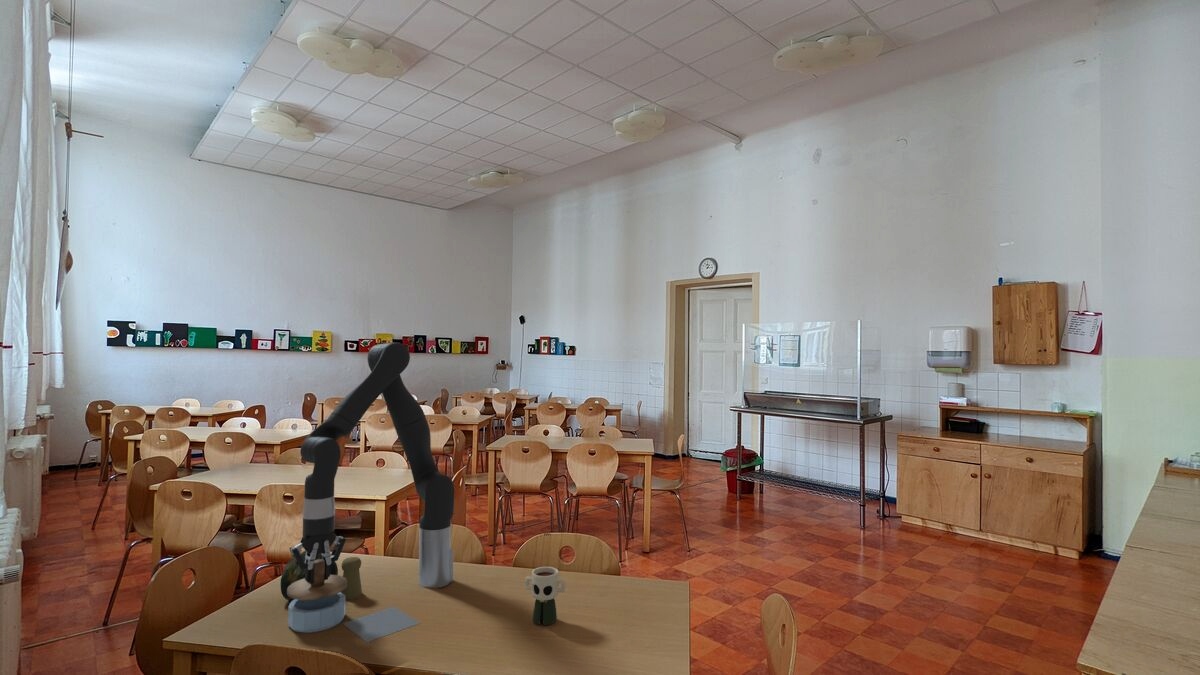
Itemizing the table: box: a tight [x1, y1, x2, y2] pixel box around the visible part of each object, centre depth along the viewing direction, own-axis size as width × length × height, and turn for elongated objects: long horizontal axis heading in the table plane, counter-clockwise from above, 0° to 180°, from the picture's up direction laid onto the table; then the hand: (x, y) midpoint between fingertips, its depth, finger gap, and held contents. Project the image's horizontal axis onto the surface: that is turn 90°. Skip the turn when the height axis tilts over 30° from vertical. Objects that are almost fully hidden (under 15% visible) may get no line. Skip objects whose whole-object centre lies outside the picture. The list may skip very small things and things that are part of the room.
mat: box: [342, 606, 421, 643], centre depth 152 cm, size 14×14×1 cm
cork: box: [341, 556, 363, 600], centre depth 169 cm, size 6×6×11 cm
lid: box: [287, 559, 347, 600], centre depth 153 cm, size 14×14×7 cm
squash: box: [280, 550, 339, 601], centre depth 170 cm, size 14×15×15 cm
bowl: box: [287, 592, 347, 634], centre depth 153 cm, size 13×13×6 cm
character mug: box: [524, 566, 566, 626], centre depth 155 cm, size 11×7×13 cm, turn 79°
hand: (317, 580), depth 153 cm, fingers closed on lid, 3 cm apart
